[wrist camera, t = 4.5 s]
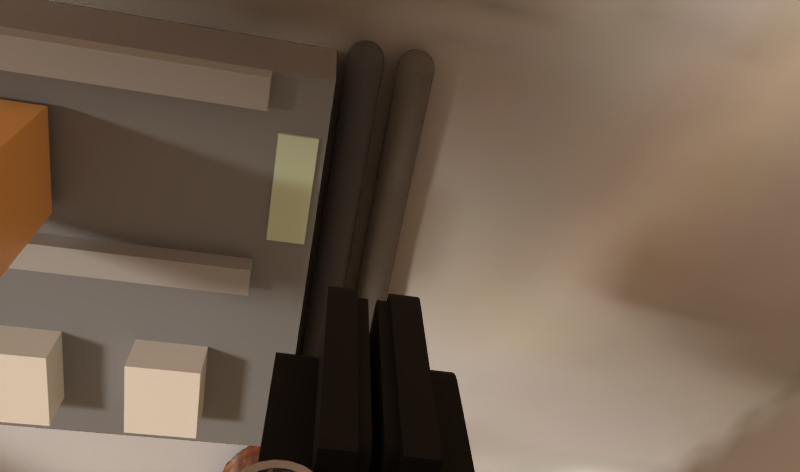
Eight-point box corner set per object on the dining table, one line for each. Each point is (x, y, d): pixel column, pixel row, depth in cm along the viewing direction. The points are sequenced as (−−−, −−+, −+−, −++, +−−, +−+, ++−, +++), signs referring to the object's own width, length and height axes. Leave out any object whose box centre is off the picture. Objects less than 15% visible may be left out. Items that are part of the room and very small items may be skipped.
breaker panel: (-273, -55, 17) (-439, -28, 14) (336, 50, 20) (335, 96, 16) (-180, 339, 23) (-281, 433, 19) (287, 385, 25) (278, 477, 21)
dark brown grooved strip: (350, 33, 19) (350, 42, 19) (435, 48, 20) (439, 58, 19) (294, 396, 25) (292, 416, 24) (360, 403, 26) (361, 422, 25)
